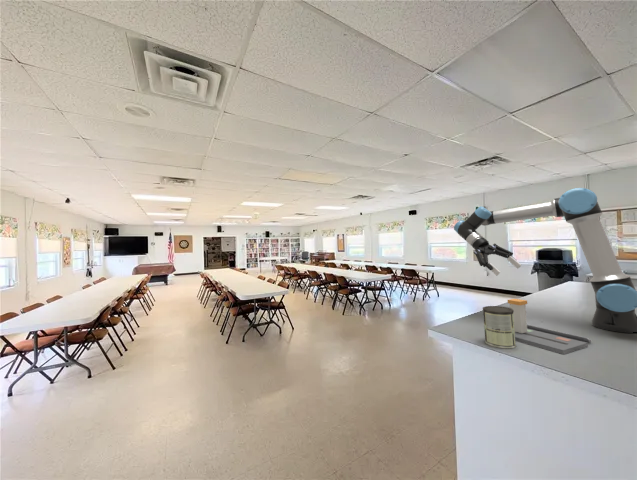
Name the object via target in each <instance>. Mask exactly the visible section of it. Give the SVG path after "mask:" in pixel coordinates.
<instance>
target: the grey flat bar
mask: <svg viewBox="0 0 637 480" xmlns="http://www.w3.org/2000/svg"><path fill="white" fill-rule="evenodd" d="M527 329H532V330H536V331H540V332H544V333H549V334H553V335H557V336H561V337H565V338H570V339H574V340H578V341H582V342H587V343H588V344H590V343H591V342H592V339H591V338H589V337H587V336H586V337H585V336H581V335H577V334H576V335H575V334H572V333H566V332H563V331H558V330H555V329H549V328H546V327H540V326H536V325H532V324H530V325H529V324H527Z"/></svg>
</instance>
